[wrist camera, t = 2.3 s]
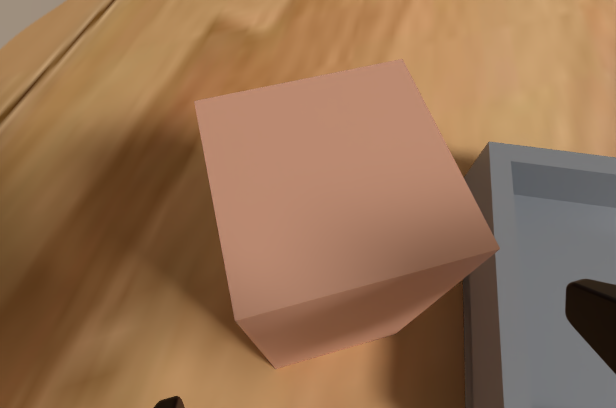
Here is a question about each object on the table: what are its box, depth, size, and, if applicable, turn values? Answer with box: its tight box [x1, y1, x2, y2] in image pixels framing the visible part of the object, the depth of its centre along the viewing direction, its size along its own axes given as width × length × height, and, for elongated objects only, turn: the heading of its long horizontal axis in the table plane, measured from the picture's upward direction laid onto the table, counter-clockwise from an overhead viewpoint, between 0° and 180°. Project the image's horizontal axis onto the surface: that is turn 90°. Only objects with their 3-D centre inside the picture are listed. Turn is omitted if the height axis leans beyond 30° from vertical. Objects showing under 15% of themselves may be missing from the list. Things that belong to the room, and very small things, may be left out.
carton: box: [194, 59, 500, 369], centre depth 15 cm, size 6×6×12 cm
